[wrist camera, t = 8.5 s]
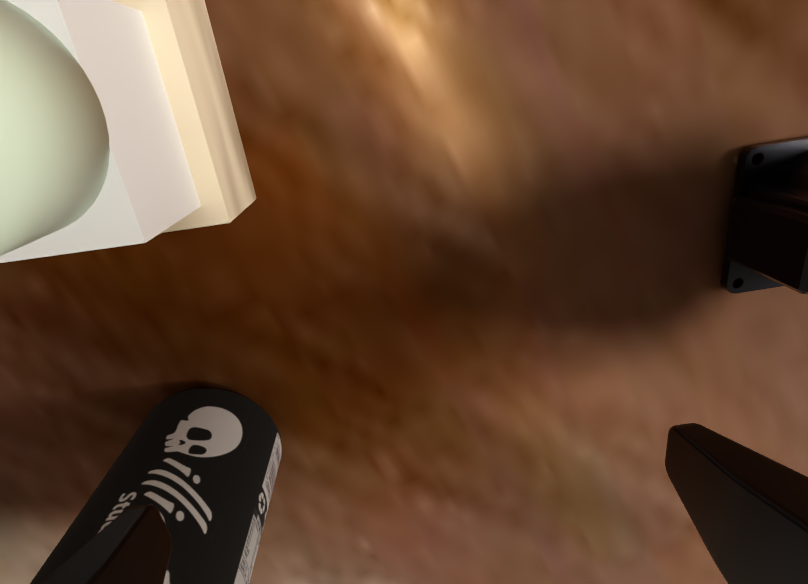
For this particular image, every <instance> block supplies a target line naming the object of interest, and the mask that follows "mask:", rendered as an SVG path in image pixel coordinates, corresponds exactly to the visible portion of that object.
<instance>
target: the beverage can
mask: <svg viewBox="0 0 808 584" xmlns="http://www.w3.org/2000/svg"><path fill="white" fill-rule="evenodd" d="M281 455H282V443H281V437H280V434H279V431H278V429H277V427H276V425H275V423H274V422H273V420H272V419H271V418H270V416H269V415H268V414H267V413H266V412H265V411H264V410H263V409H262V408H261V407H259V406H258V405H257V404H255V403H254V402H253V401H251V400H249V399H248V398H246V397H244V396H242V395H239V394H237V393H234V392H230V391H226V390H220V389H192V390H187V391H183V392H180V393H176V394H174V395H172V396H170V397H168V398H166V399H164V400H163V401H162V402H160V403H159V404H158V405H156V406H155V407H154V408H153V409H152V410H151V412H150V413H149V414H148V416H147V417H146V419H145V420H144V421H143V423H142V424H141V426H140V427H139V429H138V430H137V431H136V433H135V434H134V436H133V437H132V439H131V440H130V441H129V443H128V444H127V446H126V447H125V449H124V450H123V451H122V453H121V454H120V456H119V457H118V459H117V460H116V461H115V463H114V464H113V466H112V467H111V469H110V470H109V471H108V473H107V474H106V476H105V477H104V479H103V480H102V482H101V483H100V484H99V486H98V487H97V489H96V490H95V492H94V493H93V494H92V496H91V497H90V499H89V500H88V502H87V503H86V504H85V506H84V507H83V509H82V510H81V512H80V513H79V514H78V516H77V517H76V519H75V520H74V522H73V523H72V524H71V526H70V527H69V529H68V530H67V532H66V533H65V535H64V536H63V537H62V539H61V540H60V542H59V543H58V545H57V546H56V547H55V549H54V550H53V552H52V553H51V555H50V556H49V557H48V559H47V560H46V562H45V563H44V565H43V566H42V567H41V569H40V570H39V572H38V573H37V575H36V576H35V577H34V579H33V580H32V582H31V583H30V584H40V583H41V582H42V581H43V580H44V579H46V578H47V577H48V576H49V575H50V574H51V573H53V572H54V571H55V570H56V569H57V568H58V567H60V566H61V565H62V564H63V563H64V562H65V561H67V560H68V559H69V558H70V557H71V556H72V555H74V554H75V553H76V552H77V551H78V550H79V549H80V548H82V547H83V546H84V545H85V544H86V543H87V542H89V541H90V540H91V539H92V538H93V537H94V536H96V535H97V534H98V533H99V532H100V531H101V530H103V529H104V528H105V527H106V526H107V525H108V524H110V523H111V522H112V521H113V520H114V519H115V518H117V517H118V516H119V515H120V514H121V513H122V512H124V511H125V510H126V509H128V508H130V507H134V506H141V505H147V504H151V505H154V506H156V507H157V509H158V510H159V512H160V514H161V516H162V518H163V521H164V523H165V525H166V527H167V529H168V531H169V533H170V535H171V539H172V550H171V554H170V559H169V563H168V567H167V571H166V575H165V579H164V583H163V584H249V583H250V579H251V575H252V571H253V567H254V563H255V559H256V555H257V551H258V547H259V543H260V539H261V535H262V531H263V527H264V523H265V519H266V515H267V511H268V507H269V503H270V499H271V495H272V491H273V487H274V483H275V479H276V475H277V471H278V467H279V463H280V459H281Z"/></svg>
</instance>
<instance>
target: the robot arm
mask: <svg viewBox="0 0 808 584" xmlns="http://www.w3.org/2000/svg"><path fill="white" fill-rule="evenodd" d="M755 154H756V155H757V157H756V160H755V161H754V162H753V163H752V157H753V156H754V155H755ZM735 279H737V281H736V282H735V283H734V284H733V281H734V280H735ZM732 284H733V285H732ZM721 286H722V287H723V288H724V289H725V290H727V291H729V292H731V293H741V292H748V291H754V290H760V289H767V288H773V287H780V286H786V287H788V288H790V289H793V290H795V291H797V292H799V293H802V294H808V137H802V138H795V139H789V140H782V141H776V142H770V143H763V144H757V145H751V146H749V147H747V148H745V149H744V150H743V151H742V153H741V154H740V156H739V159H738V166H737V173H736V180H735V187H734V194H733V201H732V206H731V213H730V220H729V227H728V234H727V241H726V248H725V257H724V264H723V271H722V278H721ZM665 466H666V471H667V473H668V476H669V478H670V480H671V482H672V484H673V485H674V487H675V489H676V491H677V493H678V495H679V497H680V499H681V501H682V502H683V504H684V506H685V508H686V510H687V512H688V514H689V516H690V517H691V519H692V521H693V523H694V525H695V527H696V529H697V531H698V532H699V534H700V536H701V538H702V540H703V542H704V544H705V546H706V547H707V549H708V551H709V553H710V555H711V556H712V558H713V560H714V562H715V563H716V565H717V567H718V568H719V570H720V571H721V573H722V575H723V576H724V578H725V579H726V581H727V582H728V584H808V477H806V476H804V475H802V474H800V473H798V472H796V471H794V470H792V469H790V468H788V467H786V466H784V465H782V464H780V463H778V462H776V461H774V460H772V459H769V458H767V457H765V456H763V455H761V454H759V453H757V452H755V451H753V450H751V449H749V448H747V447H745V446H743V445H741V444H739V443H737V442H735V441H732V440H730V439H728V438H726V437H724V436H722V435H720V434H718V433H716V432H714V431H712V430H710V429H708V428H706V427H704V426H702V425H699V424H696V423H689V424H682V425H675V426H673V427H671V428H670V430H669V433H668V440H667V449H666V458H665ZM171 550H172V539H171V535H170V533H169V531H168V529H167V527H166V525H165V523H164V521H163V518H162V516H161V514H160V512H159V510H158V509H157V507H156V506H154V505H151V504H147V505H141V506H134V507H130V508H128V509H126V510H125V511H124V512H122V513H121V514H120V515H119V516H118V517H117V518H115V519H114V520H113V521H112V522H111V523H110V524H108V525H107V526H106V527H105V528H104V529H103V530H101V531H100V532H99V533H98V534H97V535H96V536H94V537H93V538H92V539H91V540H90V541H89V542H87V543H86V544H85V545H84V546H83V547H82V548H80V549H79V550H78V551H77V552H76V553H75V554H74V555H72V556H71V557H70V558H69V559H68V560H67V561H65V562H64V563H63V564H62V565H61V566H60V567H58V568H57V569H56V570H55V571H54V572H53V573H51V574H50V575H49V576H48V577H47V578H46V579H44V580H43V581H42V582H41V583H40V584H163V583H164V579H165V575H166V571H167V567H168V563H169V559H170V554H171Z"/></svg>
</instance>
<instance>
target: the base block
mask: <svg viewBox="0 0 808 584" xmlns="http://www.w3.org/2000/svg"><path fill="white" fill-rule="evenodd" d="M111 1H114V2H117V3H120V4H123V5H126V6H128V7H131V8H134V9H137V10H140V11H142V14H143V17H144V20H145V23H146V27H147V30H148V33H149V37H150V40H151V43H152V46H153V50H154V53H155V56H156V60H157V63H158V66H159V69H160V73H161V76H162V79H163V83H164V86H165V89H166V92H167V96H168V99H169V102H170V106H171V109H172V112H173V115H174V119H175V122H176V125H177V129H178V132H179V135H180V138H181V142H182V145H183V148H184V152H185V155H186V158H187V161H188V165H189V168H190V171H191V175H192V178H193V181H194V184H195V188H196V191H197V194H198V198H199V201H200V204H201V207H199V208H198V209H196V210H195V211H193V212H192V213H190V214H189V215H187V216H186V217H184V218H183V219H181V220H179V221H178V222H176V223H175V224H173V225H172V226H170V227H169V228H167V229H166V230H164V231H163V232H161V233H164V232H171V231H177V230H184V229H191V228H198V227H204V226H211V225H218V224H225V223H230V222H232V221H233V220H234V219H235V218H236V217H237V216H238V215H239V214H240V213H241V212H243V211H244V210H245V209H246V208H247V207H248V206H249V205H250V204H251V203H252V202H253V201H255V200H256V195H255V191H254V187H253V183H252V180H251V176H250V172H249V168H248V164H247V161H246V157H245V153H244V149H243V145H242V142H241V138H240V134H239V130H238V126H237V123H236V119H235V115H234V111H233V107H232V104H231V100H230V96H229V92H228V88H227V85H226V81H225V77H224V73H223V69H222V66H221V62H220V58H219V54H218V50H217V47H216V43H215V39H214V35H213V31H212V28H211V24H210V20H209V16H208V12H207V9H206V5H205V1H204V0H111Z"/></svg>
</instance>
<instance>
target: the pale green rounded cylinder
mask: <svg viewBox="0 0 808 584" xmlns="http://www.w3.org/2000/svg"><path fill="white" fill-rule="evenodd" d="M109 155H110V146H109V133H108V128H107V123H106V118H105V115H104V112H103V109H102V106H101V103H100V101H99V98H98V96H97V94H96V92H95V90H94V87H93V85H92V84H91V82H90V80H89V78H88V77H87V75H86V73H85V72H84V70H83V68H82V67H81V66H80V64H79V63H78V62H77V60H76V59H75V58H74V56H73V55H72V54H71V52H70V51H69V50H68V49H67V48H66V47H65V46H64V45H63V43H62V42H61V41H60V40H59V39H58V38H57V37H56V36H55V35H54V34H53V33H52V32H50V31H49V30H48V29H47V28H46V27H45V26H44V25H43V24H42V23H40V22H39V21H38V20H36V19H35V18H34V17H32V16H31V15H30V14H28V13H27V12H25V11H24V10H22V9H21V8H19V7H17V6H15V5H14V4H12V3H10V2H9V1H7V0H0V256H1V255H4V254H6V253H8V252H11V251H13V250H15V249H17V248H20V247H22V246H24V245H26V244H29V243H31V242H33V241H35V240H38V239H40V238H42V237H44V236H47V235H49V234H51V233H54V232H56V231H58V230H60V229H63V228H65V227H67V226H68V225H70V224H72V223H73V222H75V221H76V220H78V219H79V218H80V217H81V216H82V215H84V214H85V213H86V212H87V211H88V209H89V208H90V207H91V206H92V205H93V204H94V202H95V201H96V199H97V197H98V196H99V194H100V192H101V190H102V187H103V185H104V182H105V180H106V176H107V171H108V167H109Z"/></svg>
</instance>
